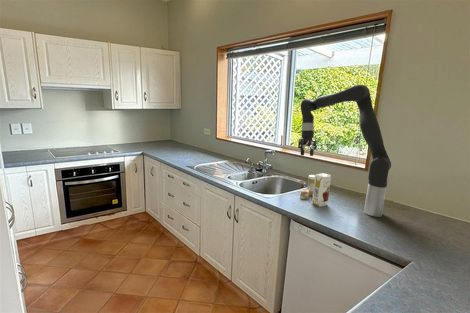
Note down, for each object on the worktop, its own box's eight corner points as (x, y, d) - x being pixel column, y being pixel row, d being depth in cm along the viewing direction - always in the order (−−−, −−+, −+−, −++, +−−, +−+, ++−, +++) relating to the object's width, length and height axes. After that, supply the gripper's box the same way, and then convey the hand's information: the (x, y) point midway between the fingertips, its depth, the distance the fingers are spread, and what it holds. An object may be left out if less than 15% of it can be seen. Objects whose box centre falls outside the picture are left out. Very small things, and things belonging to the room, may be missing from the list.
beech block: (307, 197, 174) (308, 189, 173) (308, 199, 169) (309, 192, 168) (300, 196, 175) (300, 188, 174) (300, 198, 170) (301, 191, 169)
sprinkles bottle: (305, 193, 180) (307, 174, 177) (312, 193, 180) (314, 174, 177) (308, 195, 175) (310, 176, 173) (314, 196, 176) (316, 176, 173)
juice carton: (310, 203, 162) (313, 174, 158) (319, 201, 167) (322, 172, 163) (320, 208, 156) (323, 177, 152) (329, 205, 161) (333, 175, 157)
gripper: (304, 129, 163) (303, 155, 163) (319, 131, 171) (319, 156, 170) (295, 130, 169) (294, 155, 169) (310, 131, 177) (309, 156, 177)
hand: (307, 155), depth 170 cm, fingers open, 8 cm apart
